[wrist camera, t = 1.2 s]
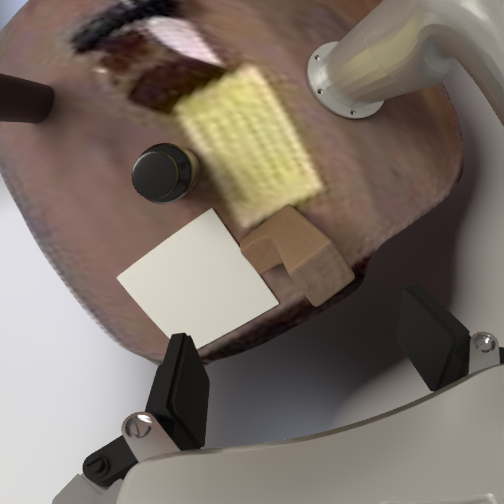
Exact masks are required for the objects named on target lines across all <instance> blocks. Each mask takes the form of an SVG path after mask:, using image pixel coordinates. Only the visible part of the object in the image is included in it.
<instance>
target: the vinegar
mask: <svg viewBox="0 0 504 504" xmlns="http://www.w3.org/2000/svg"><path fill="white" fill-rule="evenodd" d="M52 102H53V92H52V89H51V88H50V87H49V86H47V85H44V84H40V83H37V82H33V81H29V80H25V79H21V78H17V77H13V76H9V75H4V74H0V121H4V122H25V123H37V122H39V121H41V120H43V119H44V118H45V117H46V115H47V114H48V113H49V111H50V109H51V106H52Z"/></svg>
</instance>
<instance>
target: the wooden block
mask: <svg viewBox="0 0 504 504" xmlns="http://www.w3.org/2000/svg"><path fill="white" fill-rule="evenodd" d="M240 251H241V254H242V255H243V256H244V257H245V258H246V260H247V261H248V262H249V263H250V264H251V265H252V266H253V268H254V269H255V270H256V271H257V272H258V273H259V274H261V275H262V274H264V273H265V272H267V271H268V270H270V269H271V268H273V267H275V266H276V265H278V264H282V263H283V264H284V266H285V268H286V270H287V272H288V274H289V276H290V277H291V279H292V280H293V281H294V282H295V283H296V285H297V286H298V287H299V288H300V290H301V291H302V292H303V293H304V295H305V296H306V297H307V298H308V299H309V301H310V302H311V303H312V304H313V305H314V306H316V307H317V306H319V305H321V304H322V303H323V302H325V301H326V300H328V299H329V298H330V297H332V296H333V295H334V294H336V293H337V292H338V291H340V290H341V289H342V288H344V287H345V286H346V285H347V284H349V283H350V282H351V281H353V280H354V278H355V277H354V273H353V271H352V270H351V268H350V266H349V265H348V263H347V262H346V260H345V259H344V257H343V256H342V254H341V253H340V251H339V250H338V248H337V247H336V245H335V244H334V242H333V241H332V240H331V239H330V238H328V237H327V236H326V235H325V234H324V233H323V232H322V231H320V230H319V229H318V228H317V227H316V226H315V225H314V224H312V223H311V222H310V221H309V220H308V219H306V218H305V217H304V216H303V215H302V214H300V213H299V212H298V211H297V210H296V209H295V208H293V207H292V206H291V205H289V204H288V205H286V206H285V207H283V208H282V209H281V210H280V211H278V212H277V213H276V214H274V215H273V216H272V217H271V218H269V219H268V220H267V221H265V222H264V223H263V224H262V225H260V226H259V227H258V228H256V229H255V230H254V231H253V232H251V233H250V234H249V235H247V236H246V237H245V238H244V239H242V240H241V241H240Z"/></svg>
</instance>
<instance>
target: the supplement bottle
mask: <svg viewBox="0 0 504 504" xmlns="http://www.w3.org/2000/svg"><path fill="white" fill-rule="evenodd" d="M200 175H201V166H200V162H199V160H198V158H197V157H196V155H195V154H194V153H193V152H192V151H190V150H188V149H186V148H184V147H181V146H178V145H175V144H170V143H160V144H156V145H153V146H151V147H149V148H148V149H147V150H145V151H144V152H143V153H142V154H141V156H140V157H139V158H138V160H137V161H136V162H135V165H134V166H133V170H132V175H131V176H132V182H133V186H134V188H135V189H136V190H137V192H138V193H140V195H141V196H143V197H145V198H146V199H147V200H149V201H151V202H153V203H157V204H168V203H172V202H175V201H177V200H179V199H180V198H182V197H183V196H184V195H186V194H187V193H189V192H190V191H191V190H192V189H193V188H194V187H195V186H196V185H197V183H198V181H199V179H200Z"/></svg>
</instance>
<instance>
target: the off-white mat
mask: <svg viewBox="0 0 504 504" xmlns="http://www.w3.org/2000/svg"><path fill="white" fill-rule="evenodd" d="M117 279H118V280H119V282H120V283H121V284H122V285H123V287H124V288H125V289H126V290H127V291H128V293H129V294H130V295H131V296H132V297H133V299H134V300H135V301H136V302H137V303H138V304H139V306H140V307H141V308H142V309H143V310H144V311H145V312H146V314H147V315H148V316H149V317H150V318H151V319H152V320H153V321H154V322H155V324H156V325H157V326H158V327H159V328H160V329H161V330H162V331H163V332H164V333H165V334H166V335H167V336H168V337H169V338H171V335H172V334H176V333H184V332H185V333H186V334H187V335H191V337H192V339H193V342H194V344H195V347H196V349H198V348H200V347H202V346H204V345H206V344H208V343H210V342H212V341H213V340H215V339H217V338H219V337H221V336H223V335H225V334H226V333H228V332H230V331H232V330H234V329H236V328H237V327H239V326H241V325H243V324H245V323H246V322H248V321H250V320H252V319H253V318H255V317H257V316H259V315H260V314H262V313H264V312H266V311H267V310H269V309H271V308H272V307H274V306H276V305H278V304H279V302H278V300H277V299H276V298H275V296H274V295H273V293H272V292H271V291H270V289H269V288H268V286H267V285H266V284H265V282H264V281H263V279H262V278H261V276H260V275H259V274H258V272H257V271H256V270H255V269H254V268H253V266H252V265H251V264H250V263H249V262H248V261H247V260H246V258H245V257H244V256H243V255H242V254H241V251H240V247H239V245H238V244H237V242H236V241H235V240H234V238H233V237H232V235H231V234H230V232H229V231H228V230H227V228H226V227H225V225H224V224H223V223H222V221H221V220H220V218H219V217H218V215H217V214H216V213H215V211H214V210H213V208H210V209H209V210H207V211H206V212H205V213H203V214H202V215H200V216H199V217H197V218H196V219H194V220H193V221H192V222H190V223H189V224H187V225H186V226H184V227H183V228H182V229H180V230H179V231H177V232H176V233H175V234H173V235H172V236H171V237H169V238H168V239H166V240H165V241H164V242H162V243H161V244H160V245H158V246H157V247H156V248H154V249H153V250H151V251H150V252H149V253H147V254H146V255H145V256H143V257H142V258H141V259H140V260H138V261H137V262H136V263H134V264H133V265H132V266H130V267H129V268H128V269H127V270H125V271H124V272H123V273H121V274H120V275H119V276H118V277H117Z"/></svg>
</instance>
